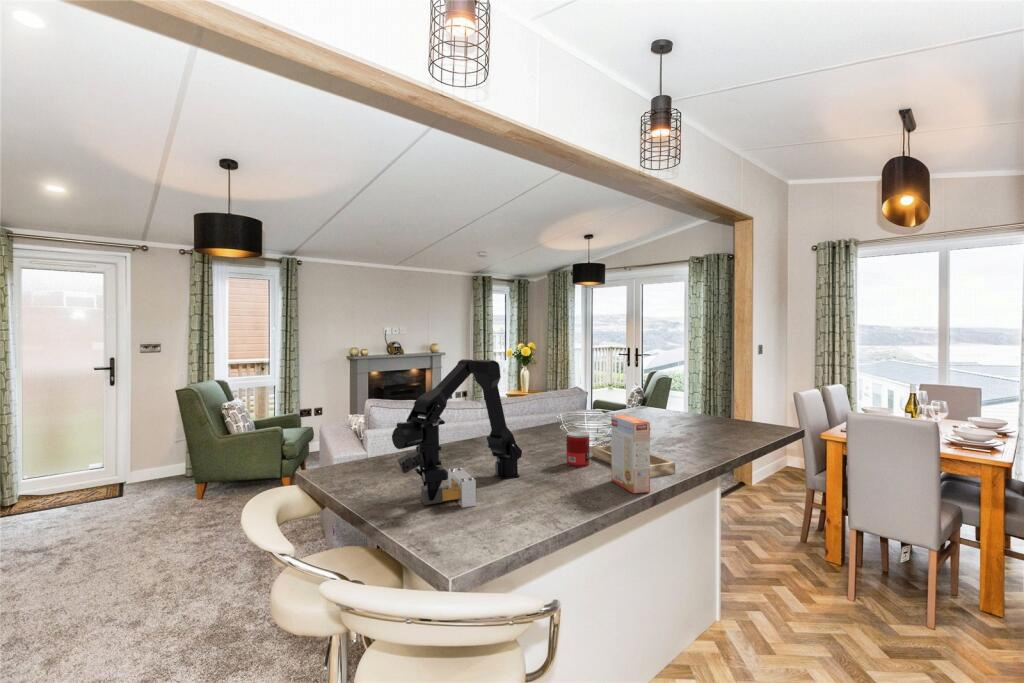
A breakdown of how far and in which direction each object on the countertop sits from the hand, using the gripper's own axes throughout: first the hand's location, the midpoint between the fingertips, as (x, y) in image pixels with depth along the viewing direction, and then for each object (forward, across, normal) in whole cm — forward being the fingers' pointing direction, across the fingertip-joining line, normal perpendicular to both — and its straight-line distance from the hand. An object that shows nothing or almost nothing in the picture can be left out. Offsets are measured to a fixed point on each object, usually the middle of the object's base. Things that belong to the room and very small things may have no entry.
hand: (429, 497), depth 135 cm
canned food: (+2, -17, +57) cm, 60 cm away
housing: (+2, 0, +9) cm, 9 cm away
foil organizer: (+2, -9, +74) cm, 75 cm away
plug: (+1, 0, +6) cm, 6 cm away
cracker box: (+2, +11, +59) cm, 60 cm away
